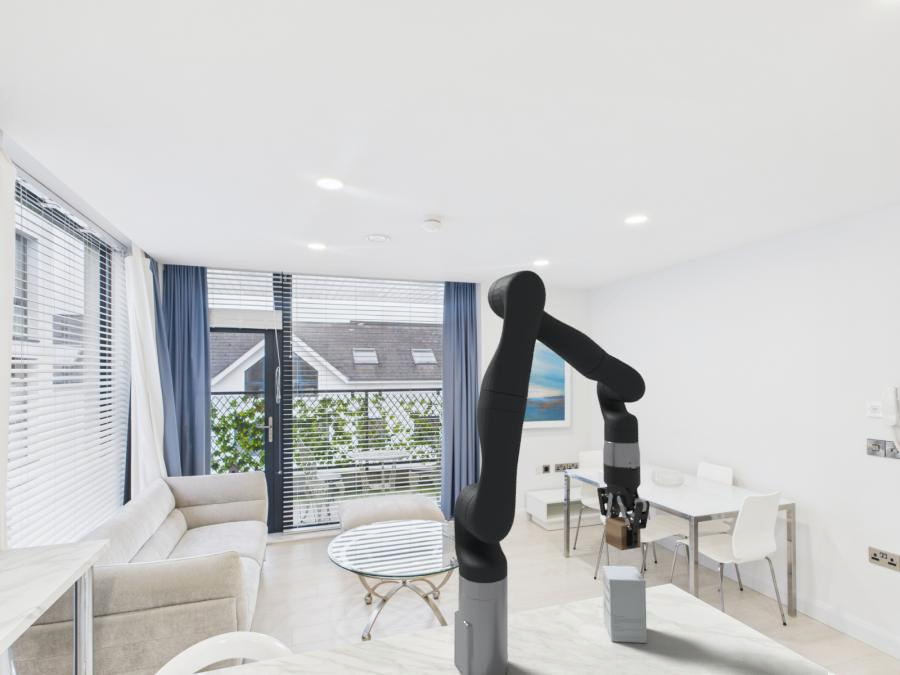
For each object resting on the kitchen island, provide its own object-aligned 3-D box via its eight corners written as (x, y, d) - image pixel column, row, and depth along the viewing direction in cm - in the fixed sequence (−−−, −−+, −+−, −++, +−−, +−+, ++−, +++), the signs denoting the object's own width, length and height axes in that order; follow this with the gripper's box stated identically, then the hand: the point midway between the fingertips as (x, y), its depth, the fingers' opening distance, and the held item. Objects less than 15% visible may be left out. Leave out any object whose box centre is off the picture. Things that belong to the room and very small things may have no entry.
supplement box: (637, 625, 108) (636, 565, 109) (647, 644, 101) (646, 580, 101) (602, 623, 109) (601, 564, 109) (610, 642, 101) (609, 578, 102)
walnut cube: (621, 550, 102) (621, 525, 103) (605, 542, 107) (605, 518, 107) (640, 547, 104) (640, 523, 105) (624, 539, 109) (623, 516, 109)
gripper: (586, 457, 112) (587, 534, 111) (631, 470, 99) (632, 557, 98) (613, 455, 115) (614, 530, 114) (660, 467, 101) (662, 552, 100)
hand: (622, 542), depth 106 cm, fingers closed on walnut cube, 5 cm apart
